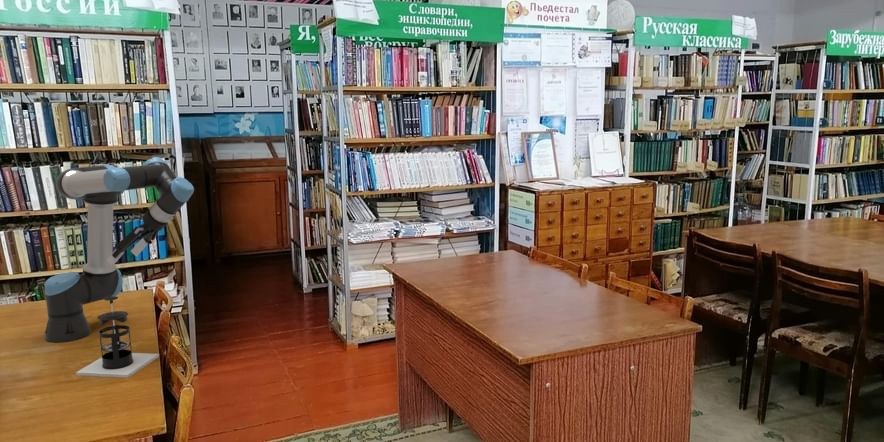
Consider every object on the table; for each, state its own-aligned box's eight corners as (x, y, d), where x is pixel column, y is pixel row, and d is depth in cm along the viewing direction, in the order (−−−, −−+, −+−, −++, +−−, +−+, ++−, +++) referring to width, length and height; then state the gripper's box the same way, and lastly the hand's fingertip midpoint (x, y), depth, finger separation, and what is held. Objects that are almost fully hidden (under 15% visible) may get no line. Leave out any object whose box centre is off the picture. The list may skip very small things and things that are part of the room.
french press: (133, 367, 215) (126, 299, 211) (101, 372, 212) (93, 303, 208) (133, 355, 226) (127, 290, 222) (103, 359, 222) (96, 294, 218)
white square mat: (111, 354, 230) (111, 351, 229) (159, 356, 227) (158, 353, 227) (76, 375, 212) (75, 372, 212) (127, 377, 209) (127, 374, 209)
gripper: (145, 230, 211) (107, 274, 215) (185, 217, 235) (150, 257, 240) (128, 213, 210) (90, 258, 215) (170, 202, 235) (135, 242, 239)
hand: (122, 258), depth 227 cm, fingers open, 13 cm apart
